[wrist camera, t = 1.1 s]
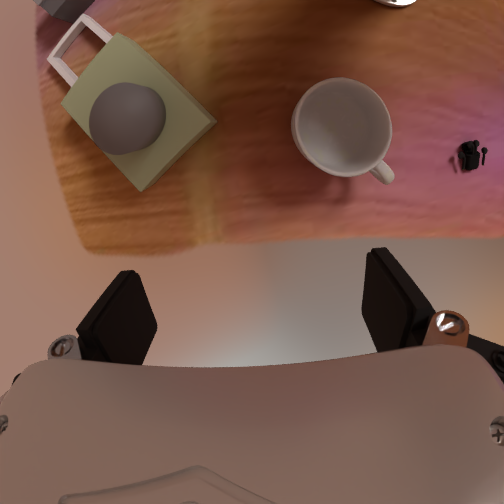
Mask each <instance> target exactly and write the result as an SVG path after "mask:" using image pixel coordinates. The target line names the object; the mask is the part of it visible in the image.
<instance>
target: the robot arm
mask: <svg viewBox="0 0 504 504" xmlns="http://www.w3.org/2000/svg"><path fill="white" fill-rule="evenodd" d="M374 1H376V2H379V3H382V4H384V5H388V6H394V7H405V6H408V5H410V4H412V3H414V2H415V1H416V0H374ZM362 315H363V318H364V321H365V323H366V325H367V327H368V330H369V332H370V335H371V337H372V340H373V342H374V345H375V347H376V350H377V352H376V353H371V354H365V355H359V356H352V357H346V358H339V359H331V360H323V361H314V362H305V363H294V364H282V365H268V366H252V367H251V366H250V367H214V368H198V367H196V368H193V367H163V366H144V365H142V364H143V361H144V359H145V356H146V354H147V352H148V349H149V347H150V345H151V342H152V340H153V338H154V336H155V334H156V331H157V322H156V319H155V317H154V314H153V312H152V309H151V306H150V304H149V301H148V298H147V296H146V293H145V290H144V287H143V284H142V281H141V278H140V276H139V275H138V273H136V272H135V271H134V270H127V271H121V272H120V273H119V274H118V275H117V276H116V278H115V279H114V280H113V281H112V282H111V284H110V285H109V286H108V287H107V289H106V290H105V291H104V293H103V294H102V295H101V296H100V298H99V299H98V300H97V302H96V303H95V304H94V305H93V307H92V308H91V309H90V311H89V312H88V314H87V315H86V316H85V318H84V319H83V320H82V322H81V323H80V324H79V326H78V327H77V328H76V331H77V333H78V334H79V337H78V338H76V337H75V336H73V335H65V336H61V337H60V338H58V339H56V340H55V341H54V342H53V343H52V344H51V345H50V347H49V349H48V360H44V361H40V362H37V363H34V364H32V365H30V366H28V367H27V368H26V369H25V370H24V371H23V372H22V373H20V374H18V375H17V376H16V377H15V378H14V381H13V383H12V386H11V388H10V389H9V390H8V391H7V392H6V393H5V394H4V395H3V396H1V397H0V504H504V346H501V345H498V344H496V343H493V342H490V341H487V340H485V339H482V338H479V337H476V336H473V335H471V334H469V324H468V322H467V320H466V319H465V318H464V317H463V316H462V315H460V314H459V313H456V312H454V311H448V310H445V311H440V312H437V313H436V312H435V310H434V309H433V307H432V305H431V304H430V302H429V301H428V300H427V298H426V297H425V296H424V294H423V293H422V292H421V291H420V289H419V288H418V286H417V285H416V284H415V282H414V281H413V280H412V279H411V277H410V276H409V275H408V274H407V273H406V271H405V270H404V269H403V268H402V266H401V265H400V264H399V262H398V261H397V260H396V259H395V258H394V256H393V255H392V254H391V253H390V252H389V250H388V249H387V248H385V247H383V248H373V249H372V250H371V252H368V253H367V257H366V270H365V281H364V291H363V300H362Z"/></svg>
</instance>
